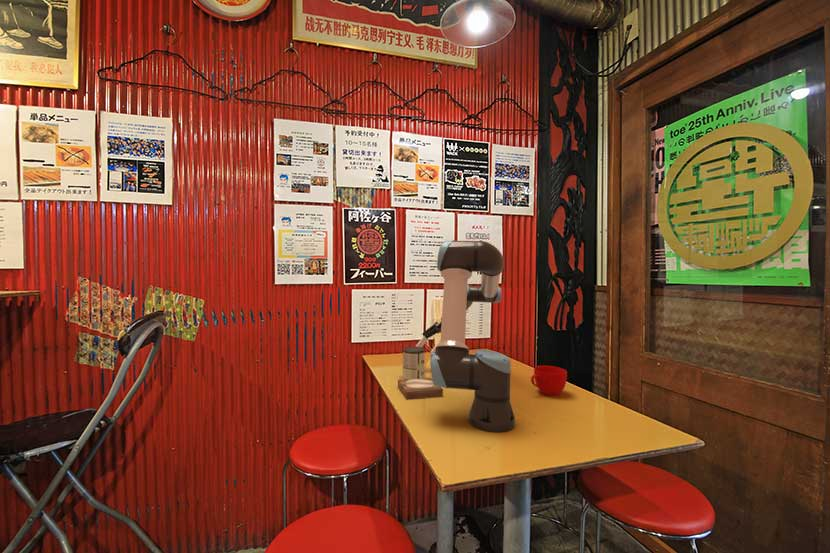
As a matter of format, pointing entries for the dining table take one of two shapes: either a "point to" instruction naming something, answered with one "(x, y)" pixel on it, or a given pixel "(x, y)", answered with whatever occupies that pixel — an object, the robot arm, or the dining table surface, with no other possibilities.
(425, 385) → the base
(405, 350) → the coffee can
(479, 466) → the dining table surface
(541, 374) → the ceramic cup
